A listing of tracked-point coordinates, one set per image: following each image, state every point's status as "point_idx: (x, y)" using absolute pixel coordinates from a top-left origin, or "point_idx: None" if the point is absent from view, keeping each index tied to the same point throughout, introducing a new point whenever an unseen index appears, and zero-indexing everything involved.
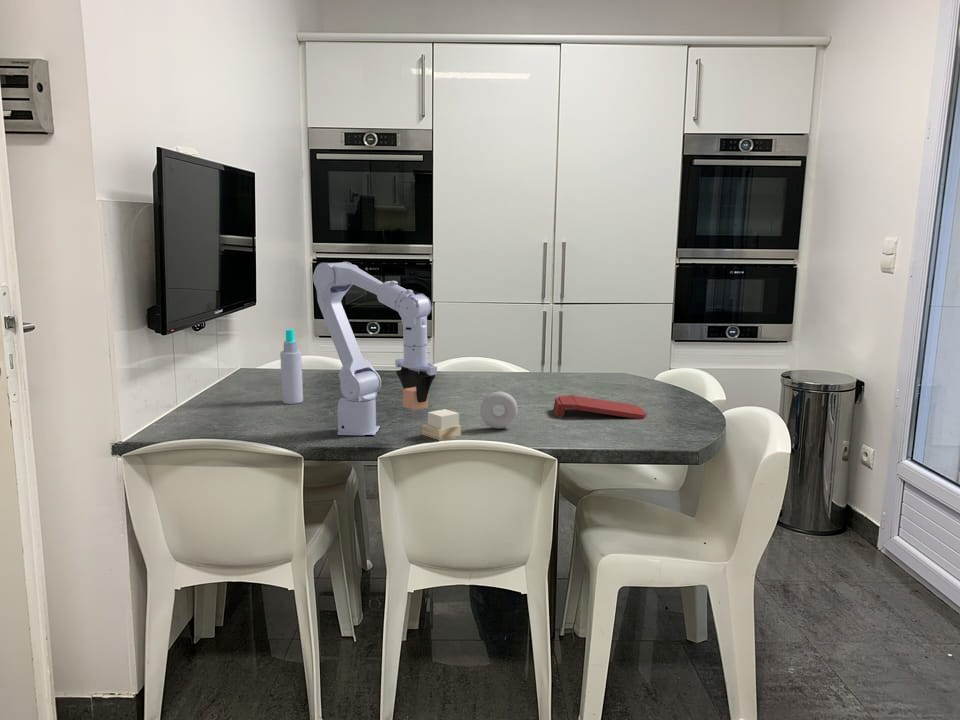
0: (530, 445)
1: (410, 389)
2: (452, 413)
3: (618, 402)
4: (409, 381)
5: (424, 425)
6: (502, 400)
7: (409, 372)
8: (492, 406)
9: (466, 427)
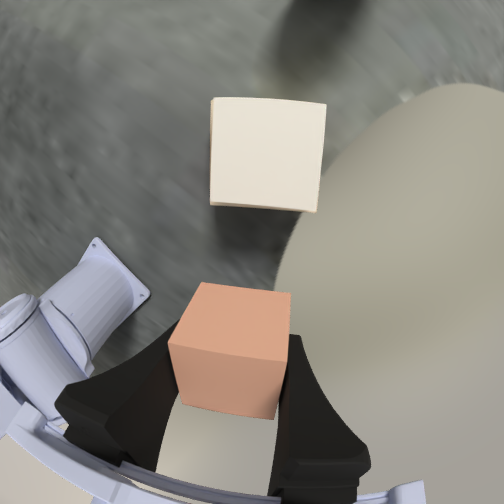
0: (499, 81)
1: (214, 399)
2: (307, 130)
3: None
4: (159, 405)
5: (222, 203)
6: None
7: (140, 450)
8: None
9: (246, 26)
